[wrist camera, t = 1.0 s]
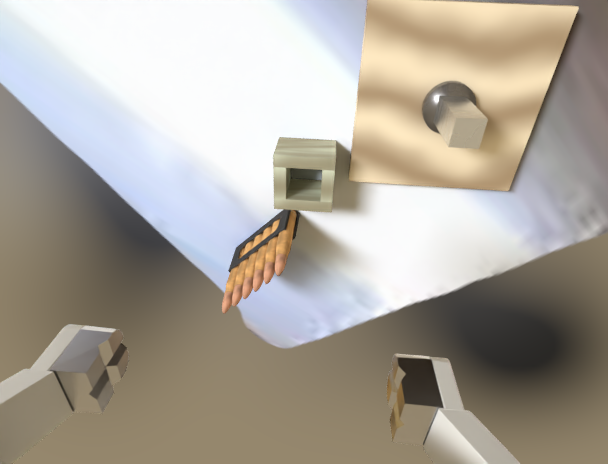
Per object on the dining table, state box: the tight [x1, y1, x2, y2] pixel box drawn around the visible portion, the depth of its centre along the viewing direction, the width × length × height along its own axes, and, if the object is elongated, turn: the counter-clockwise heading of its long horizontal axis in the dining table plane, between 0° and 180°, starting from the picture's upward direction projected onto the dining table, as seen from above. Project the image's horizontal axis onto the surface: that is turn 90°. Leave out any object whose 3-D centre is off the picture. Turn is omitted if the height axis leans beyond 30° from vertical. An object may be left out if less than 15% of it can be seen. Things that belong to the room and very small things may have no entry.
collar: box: [273, 137, 336, 212], centre depth 43 cm, size 6×6×5 cm
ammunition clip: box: [222, 209, 300, 313], centre depth 46 cm, size 11×2×12 cm, turn 134°
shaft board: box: [349, 0, 579, 191], centre depth 36 cm, size 18×18×9 cm
